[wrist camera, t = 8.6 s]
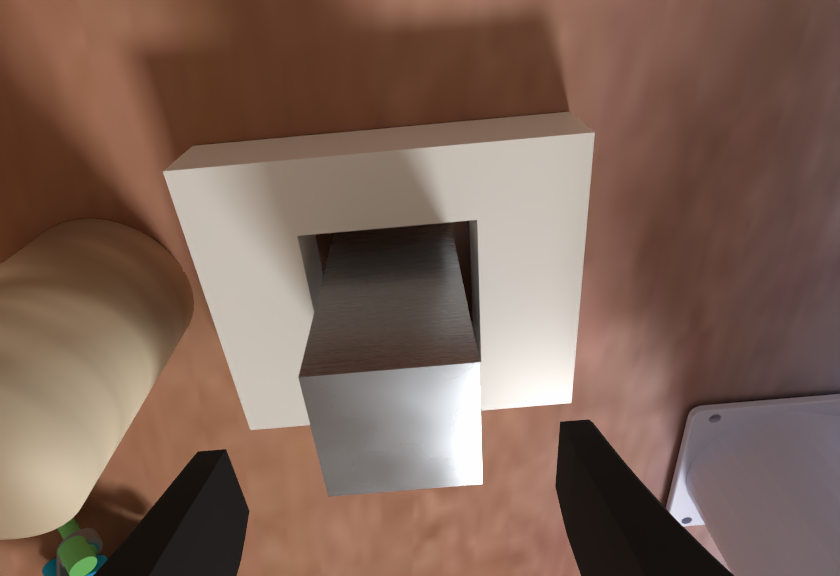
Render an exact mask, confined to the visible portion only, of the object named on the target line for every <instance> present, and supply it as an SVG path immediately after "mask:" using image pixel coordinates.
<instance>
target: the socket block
mask: <svg viewBox="0 0 840 576" xmlns="http://www.w3.org/2000/svg"><path fill="white" fill-rule="evenodd" d="M594 136H595V132H594V131H593V130H591V129H590V128H589V127H588V126H587V125H585V124H584V123H583V122H582V121H581V120H579V119H578V118H577V117H576V116H575V115H573V114H572V113H571V112H560V113H549V114H538V115H527V116H516V117H505V118H494V119H483V120H472V121H461V122H450V123H439V124H428V125H417V126H406V127H395V128H384V129H373V130H362V131H351V132H340V133H328V134H317V135H306V136H295V137H284V138H273V139H262V140H251V141H240V142H229V143H218V144H207V145H196V146H192V147H191V148H189V149H188V150H187V151H186V152H185V153H184V154H182V155H181V156H180V157H179V158H178V159H177V160H175V161H174V162H173V163H172V164H171V165H170V166H168V167H167V168H166V169H165V170H164V171H163V174H164V177H165V180H166V183H167V186H168V188H169V191H170V194H171V197H172V200H173V203H174V206H175V209H176V212H177V215H178V218H179V221H180V224H181V227H182V230H183V233H184V236H185V239H186V242H187V245H188V247H189V250H190V253H191V256H192V259H193V262H194V265H195V268H196V271H197V274H198V277H199V280H200V283H201V286H202V289H203V292H204V295H205V298H206V301H207V303H208V306H209V309H210V312H211V315H212V318H213V321H214V324H215V327H216V330H217V333H218V336H219V339H220V342H221V345H222V348H223V351H224V354H225V357H226V360H227V362H228V365H229V368H230V371H231V374H232V377H233V380H234V383H235V386H236V389H237V392H238V395H239V398H240V401H241V404H242V407H243V410H244V413H245V416H246V419H247V421H248V424H249V427H250V430H256V429H268V428H280V427H292V426H304V425H310V422H309V418H308V414H307V410H306V406H305V402H304V398H303V394H302V390H301V386H300V382H299V378H298V377H299V373H300V369H301V364H302V360H303V356H304V352H305V348H306V344H307V340H308V336H309V332H310V328H311V324H312V319H313V315H314V311H315V307H316V303H317V299H318V295H319V291H320V287H321V283H322V279H323V271H322V266H321V261H320V256H319V251H318V246H317V241H316V236H315V234H324V233H335V232H346V231H358V230H369V229H380V228H392V227H403V226H414V225H425V224H437V223H448V222H459V221H469V233H470V261H471V288H472V316H473V321H472V322H471V324H472V329H473V334H474V338H475V343H476V348H477V353H478V358H479V363H480V401H481V410H493V409H505V408H516V407H528V406H540V405H552V404H564V403H571V400H572V389H573V377H574V366H575V354H576V343H577V331H578V320H579V308H580V297H581V285H582V274H583V263H584V251H585V240H586V228H587V217H588V205H589V194H590V182H591V171H592V159H593V148H594Z"/></svg>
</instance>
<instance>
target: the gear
mask: <svg viewBox="0 0 840 576" xmlns="http://www.w3.org/2000/svg"><path fill="white" fill-rule="evenodd" d="M57 529H58V531H59V532H60V534H61V536H62V538H63V541H62V542H61V543H60V545H59V546H58V548H57V553H56V556H57V558H55V559H53V560H51V561H49V562H48V563H47V564H46V565H45V566H44V567H43V569H42V573H43V575H44V576H93V575H94V574H95V573H96V572H97V571H98V569H99V568H100V567H101V566H102V565H103V564H104V563H105V562H106V561H107V560H108V559H107V558H106V556H105V555H100V553H101V551H102V549H103V542H102V540H101V538H100V537H99V535H98V533H97V532H96V530H95V529H93V528H83V529H80V527H79V525H78V523H77V522H76V520H75V518H74V517H73V518H72V519H71V520H70V521H68V522H67V523H65V524H64V525H62V526H60V527H58V528H57Z"/></svg>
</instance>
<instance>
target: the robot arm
mask: <svg viewBox="0 0 840 576" xmlns="http://www.w3.org/2000/svg"><path fill="white" fill-rule="evenodd" d="M712 415H713V416H712ZM556 490H557V495H558V499H559V503H560V508H561V512H562V516H563V520H564V525H565V529H566V533H567V536H568V539H569V542H570V545H571V548H572V551H573V553H574V556H575V559H576V562H577V565H578V568H579V571H580V574H581V576H840V394H832V395H820V396H809V397H797V398H785V399H773V400H761V401H749V402H737V403H726V404H714V405H702V406H697V407H695V408H693V409H692V410H691V411H690V412H689V414H688V418H687V422H686V426H685V430H684V435H683V439H682V443H681V447H680V451H679V455H678V459H677V464H676V468H675V472H674V476H673V480H672V484H671V488H670V492H669V497H668V501H667V505H666V508H665V507H664V506H663V505H662V504H661V503H660V502H659V501H658V500H657V498H656V497H655V496H654V495H653V494H652V493H651V492H650V491H649V490H648V489H647V487H646V486H645V485H644V484H643V483H642V482H641V481H640V480H639V478H638V477H637V476H636V475H635V474H634V473H633V472H632V470H631V469H630V468H629V467H628V466H627V464H626V463H625V462H624V461H623V460H622V458H621V457H620V456H619V455H618V454H617V452H616V451H615V450H614V449H613V447H612V446H611V445H610V444H609V442H608V441H607V440H606V439H605V437H604V436H603V435H602V434H601V432H600V431H599V430H598V428H597V427H596V426H595V425H594V423H593V422H591V421H590V420H578V421H565V422H560V433H559V446H558V460H557V474H556ZM248 515H249V509H248V506H247V504H246V501H245V498H244V496H243V493H242V490H241V488H240V485H239V482H238V480H237V477H236V475H235V472H234V469H233V467H232V464H231V461H230V459H229V456H228V454H227V451H226V449H225V450H212V451H200V452H197V453H196V455H195V456H194V457H193V458H192V459H191V461H190V462H189V463H188V464H187V465H186V467H185V468H184V469H183V470H182V471H181V473H180V474H179V475H178V476H177V478H176V479H175V480H174V481H173V482H172V484H171V485H170V486H169V487H168V489H167V490H166V491H165V492H164V494H163V495H162V496H161V497H160V498H159V500H158V501H157V502H156V503H155V505H154V506H153V507H152V508H151V509H150V511H149V512H148V513H147V514H146V515H145V517H144V518H143V519H142V520H141V521H140V523H139V524H138V525H137V526H136V527H135V528H134V530H133V531H132V532H131V533H130V534H129V536H128V537H127V538H126V539H125V540H124V541H123V543H122V544H121V545H120V546H119V547H118V548H117V550H116V551H115V552H114V553H113V554H112V555H111V556H110V557H109V558H108V560H107V561H106V562H105V563H104V564H103V565H102V566H101V567H100V568H99V569H98V571H97V572H96V573H95V574H94V575H93V576H237V572H238V568H239V565H240V561H241V557H242V551H243V546H244V540H245V535H246V528H247V522H248ZM693 525H706V527H707V529H708V531H709V533H710V534H711V536H712V538H713V540H714V542H715V543H716V545H717V547H718V549H719V551H720V553H721V554H722V556H723V558H724V560H725V562H726V563H727V565H728V567H729V569H730V571H731V572H732V573H731V572H730V571H728V570H727V569H726V568H725V567H724V566H723V565H722V564H721V563H720V562H719V561H718V560H717V559H716V558H714V557H713V556H712V555H711V554H710V553H709V552H708V551H707V550H706V549H705V548H704V547H703V546H702V545H701V544H700V543H699V542H698V541H697V540H696V539H695V538H694V537H693V536H692V535H691V534H690V533H689V532H688V531H687V530H686V529H685V528H684V527H683V526H693Z"/></svg>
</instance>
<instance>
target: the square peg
mask: <svg viewBox="0 0 840 576" xmlns="http://www.w3.org/2000/svg"><path fill="white" fill-rule="evenodd" d="M298 378H299V382H300V386H301V390H302V394H303V398H304V402H305V406H306V410H307V414H308V418H309V422H310V426H311V430H312V434H313V438H314V442H315V446H316V450H317V454H318V457H319V461H320V465H321V469H322V473H323V477H324V481H325V485H326V489H327V493H328V497H329V496H341V495H353V494H365V493H378V492H390V491H402V490H414V489H427V488H439V487H451V486H464V485H476V484H483V478H482V440H481V401H480V363H479V358H478V353H477V348H476V343H475V338H474V334H473V329H472V324H471V319H470V314H469V309H468V305H467V300H466V295H465V290H464V285H463V281H462V276H461V271H460V266H459V261H458V257H457V252H456V247H455V242H454V237H453V232H452V228H451V223H450V222H448V223H437V224H425V225H414V226H403V227H392V228H380V229H369V230H358V231H346V232H335V233H334V234H333V238H332V242H331V246H330V250H329V254H328V258H327V262H326V266H325V270H324V275H323V279H322V283H321V287H320V291H319V295H318V299H317V303H316V307H315V311H314V315H313V319H312V324H311V328H310V332H309V336H308V340H307V344H306V348H305V352H304V356H303V360H302V364H301V369H300V373H299V377H298Z"/></svg>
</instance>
